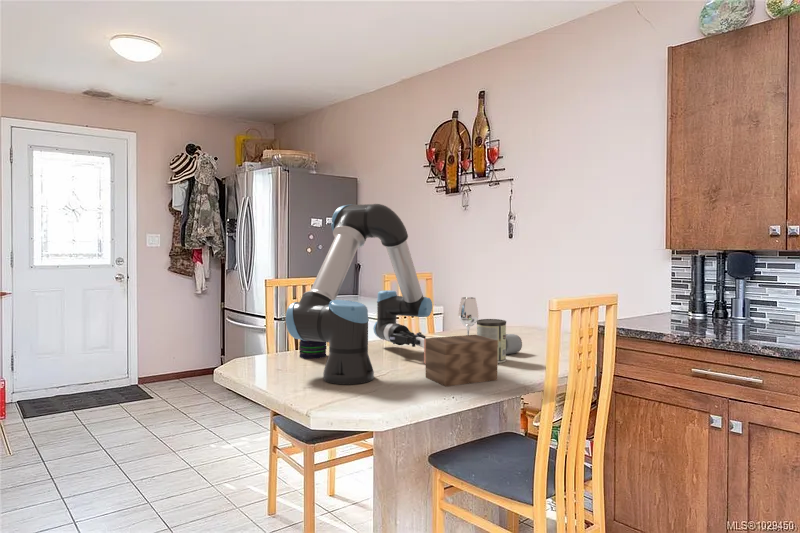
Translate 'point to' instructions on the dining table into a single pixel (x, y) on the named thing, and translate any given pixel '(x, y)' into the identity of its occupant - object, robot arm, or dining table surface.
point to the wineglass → (468, 312)
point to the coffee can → (494, 334)
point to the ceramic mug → (513, 343)
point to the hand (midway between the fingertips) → (426, 343)
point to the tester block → (461, 359)
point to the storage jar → (312, 349)
